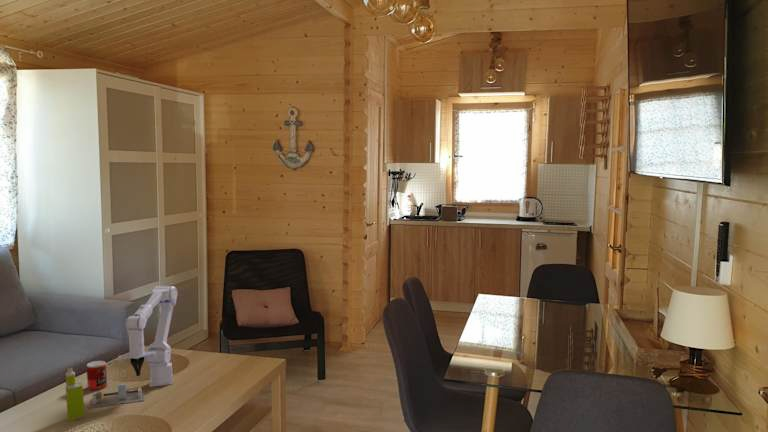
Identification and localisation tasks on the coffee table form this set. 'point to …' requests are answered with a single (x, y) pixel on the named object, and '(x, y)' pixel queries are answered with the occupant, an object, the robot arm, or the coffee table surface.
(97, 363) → the canned food
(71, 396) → the vape
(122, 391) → the sleeve
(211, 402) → the coffee table surface
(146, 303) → the robot arm
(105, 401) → the linear slide rail
